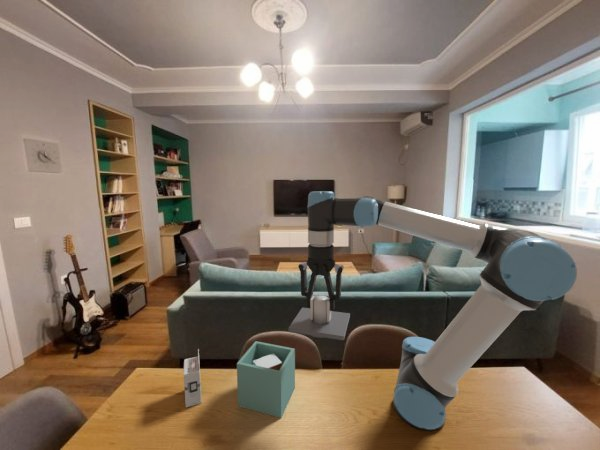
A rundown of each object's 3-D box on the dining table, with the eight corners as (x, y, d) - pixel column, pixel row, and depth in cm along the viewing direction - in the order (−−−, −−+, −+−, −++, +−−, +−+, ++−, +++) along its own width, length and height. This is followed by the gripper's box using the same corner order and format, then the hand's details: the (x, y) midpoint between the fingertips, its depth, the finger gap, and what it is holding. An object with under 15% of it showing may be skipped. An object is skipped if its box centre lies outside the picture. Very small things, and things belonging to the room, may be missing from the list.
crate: (294, 387, 94) (294, 348, 92) (281, 418, 82) (281, 373, 80) (256, 378, 99) (255, 341, 97) (238, 406, 87) (236, 363, 84)
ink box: (185, 389, 94) (183, 350, 91) (200, 385, 95) (198, 347, 93) (185, 408, 86) (182, 366, 84) (201, 403, 87) (199, 362, 85)
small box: (260, 408, 86) (260, 371, 84) (252, 395, 91) (251, 360, 89) (282, 397, 90) (282, 362, 88) (274, 386, 95) (273, 352, 93)
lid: (349, 321, 86) (350, 292, 85) (343, 345, 73) (344, 311, 72) (302, 314, 91) (302, 287, 90) (288, 336, 78) (288, 304, 77)
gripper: (352, 243, 80) (351, 317, 83) (296, 240, 85) (297, 310, 88) (349, 248, 72) (347, 329, 76) (288, 245, 78) (289, 320, 81)
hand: (320, 318), depth 82 cm, fingers closed on lid, 4 cm apart
